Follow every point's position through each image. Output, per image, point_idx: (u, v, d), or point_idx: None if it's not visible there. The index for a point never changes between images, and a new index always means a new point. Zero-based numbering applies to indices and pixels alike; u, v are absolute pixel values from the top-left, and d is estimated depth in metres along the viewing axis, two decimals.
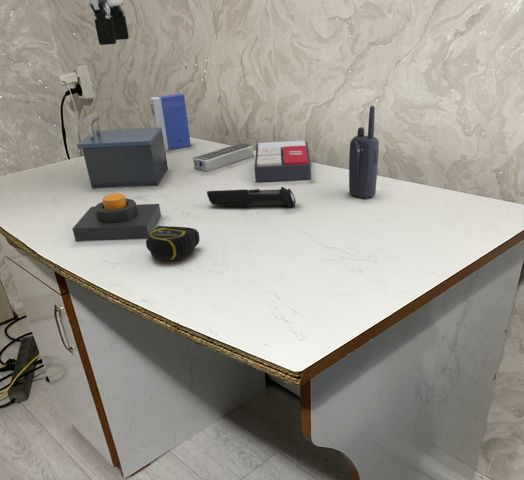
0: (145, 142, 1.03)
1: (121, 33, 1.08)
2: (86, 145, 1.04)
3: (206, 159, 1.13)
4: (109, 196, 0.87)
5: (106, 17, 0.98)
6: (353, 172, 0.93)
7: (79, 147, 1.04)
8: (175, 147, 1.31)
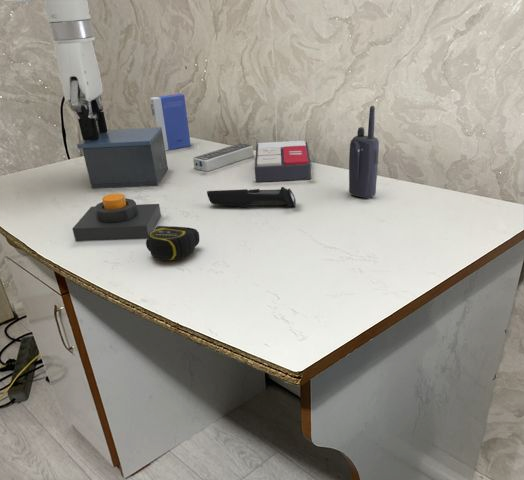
0: (145, 142, 1.03)
1: (100, 127, 1.10)
2: (86, 145, 1.04)
3: (206, 159, 1.13)
4: (109, 196, 0.87)
5: (89, 118, 1.03)
6: (353, 172, 0.93)
7: (79, 147, 1.04)
8: (175, 147, 1.31)
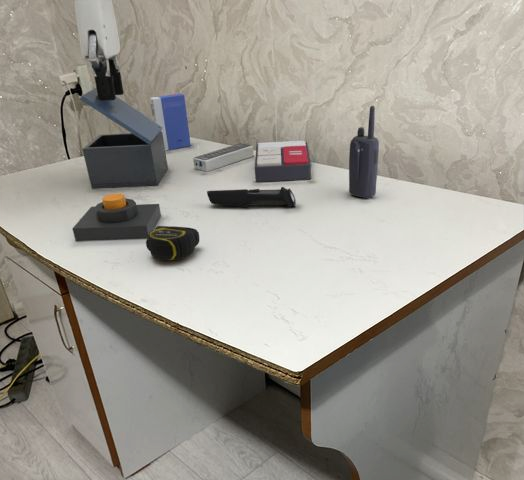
0: (146, 139, 1.03)
1: (116, 89, 1.06)
2: (90, 102, 0.99)
3: (206, 159, 1.13)
4: (109, 196, 0.87)
5: (107, 76, 0.98)
6: (353, 172, 0.93)
7: (82, 99, 0.99)
8: (175, 147, 1.31)
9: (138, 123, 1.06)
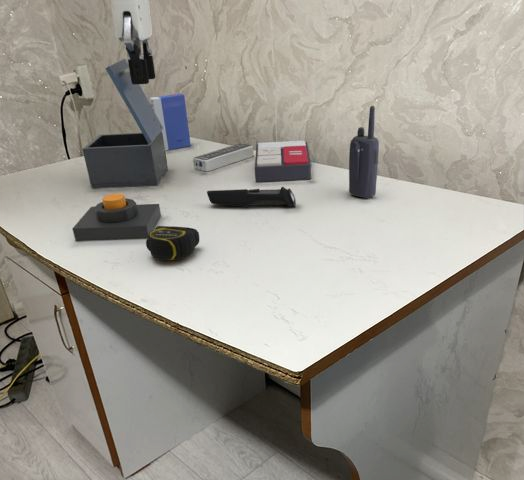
0: (148, 138, 1.03)
1: (148, 73, 1.04)
2: (113, 77, 0.97)
3: (206, 159, 1.13)
4: (109, 196, 0.87)
5: (140, 59, 0.97)
6: (353, 172, 0.93)
7: (107, 69, 0.96)
8: (175, 147, 1.31)
9: (146, 117, 1.05)
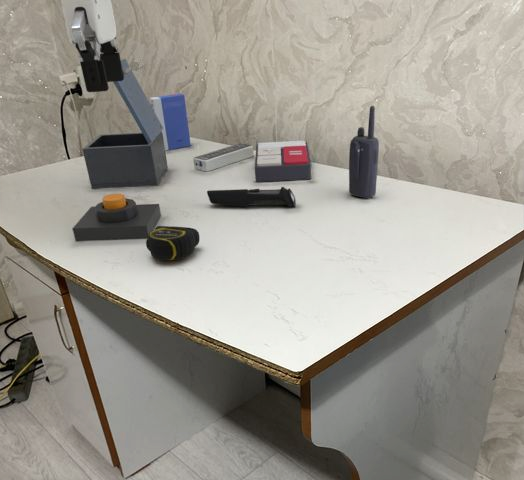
0: (148, 138, 1.03)
1: (114, 74, 0.86)
2: None
3: (206, 159, 1.13)
4: (109, 196, 0.87)
5: (95, 58, 0.76)
6: (353, 172, 0.93)
7: None
8: (175, 147, 1.31)
9: (146, 117, 1.05)
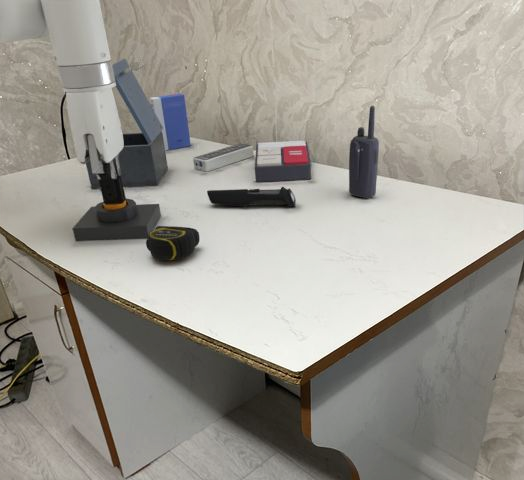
0: (148, 138, 1.03)
1: None
2: None
3: (206, 159, 1.13)
4: None
5: (113, 179, 0.84)
6: (353, 172, 0.93)
7: None
8: (175, 147, 1.31)
9: (146, 117, 1.05)
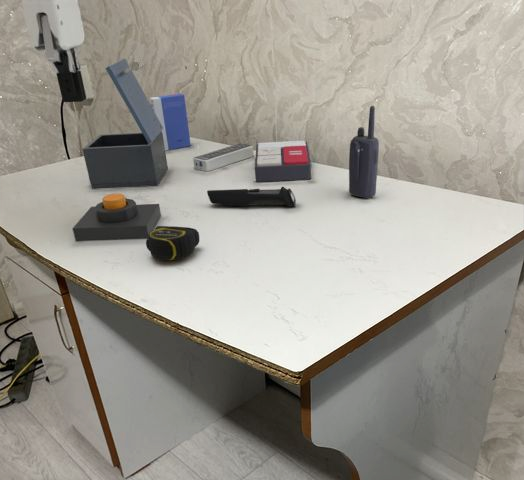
0: (148, 138, 1.03)
1: None
2: (113, 77, 0.97)
3: (206, 159, 1.13)
4: (109, 196, 0.87)
5: (72, 72, 0.79)
6: (353, 172, 0.93)
7: (107, 69, 0.96)
8: (175, 147, 1.31)
9: (146, 117, 1.05)
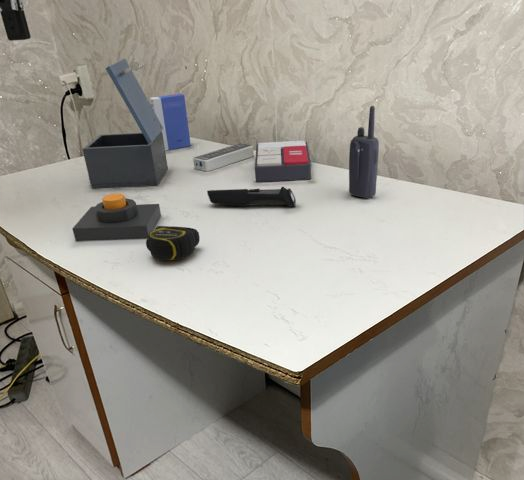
0: (148, 138, 1.03)
1: None
2: (113, 77, 0.97)
3: (206, 159, 1.13)
4: (109, 196, 0.87)
5: (14, 10, 0.84)
6: (353, 172, 0.93)
7: (107, 69, 0.96)
8: (175, 147, 1.31)
9: (146, 117, 1.05)
